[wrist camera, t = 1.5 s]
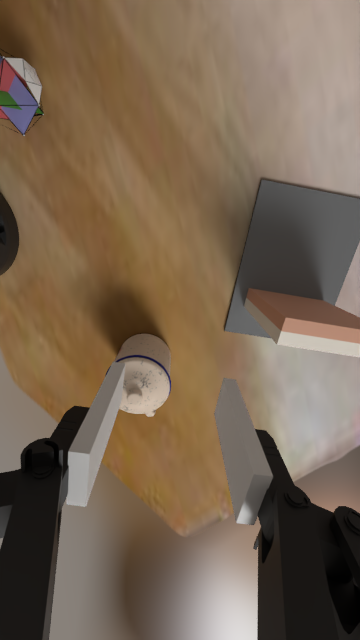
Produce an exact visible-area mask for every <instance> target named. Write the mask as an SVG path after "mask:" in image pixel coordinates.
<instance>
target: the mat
mask: <svg viewBox="0 0 360 640" xmlns="http://www.w3.org/2000/svg"><path fill="white" fill-rule="evenodd" d="M359 241H360V199H358V198H353V197H348V196H343V195H338V194H333V193H328V192H323V191H318V190H313V189H308V188H302V187H297V186H292V185H287V184H282V183H277V182H272V181H267V180H261V183H260V187H259V191H258V195H257V199H256V203H255V207H254V211H253V215H252V219H251V223H250V227H249V232H248V236H247V240H246V244H245V248H244V252H243V256H242V260H241V264H240V268H239V272H238V276H237V280H236V285H235V289H234V293H233V297H232V301H231V305H230V309H229V313H228V317H227V321H226V325H225V329H224V330H225V331H229V332H235V333H241V334H248V335H254V336H260V337H267V338H271V337H270V336H269V335H268V334H267V332H266V331H265V330H264V329H263V328H262V327H261V326H260V324H259V323H258V322H257V321H256V320H255V319H254V318H253V316H252V315H251V314H250V313H249V312H248V311H247V310H246V308H245V307H244V304H245V300H246V297H247V293H248V289H249V288H252V289H258V290H264V291H270V292H276V293H282V294H287V295H293V296H299V297H305V298H311V299H317V300H323V301H325V302H328V303H330V304H332V305H334V306H335V303H336V301H337V298H338V295H339V293H340V290H341V288H342V285H343V282H344V280H345V277H346V275H347V272H348V270H349V267H350V264H351V262H352V259H353V257H354V254H355V251H356V249H357V246H358V244H359Z"/></svg>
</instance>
